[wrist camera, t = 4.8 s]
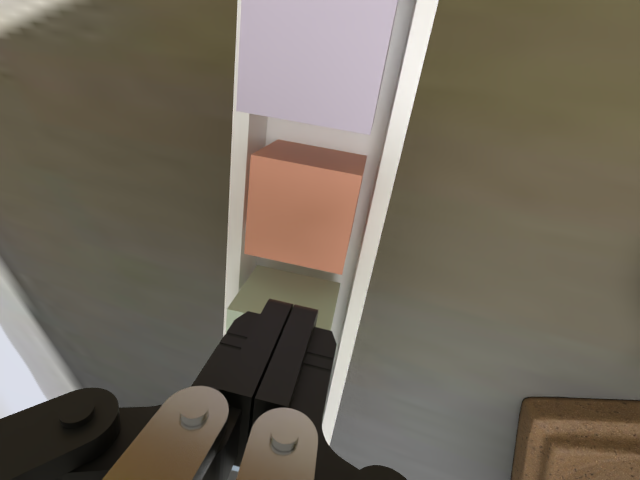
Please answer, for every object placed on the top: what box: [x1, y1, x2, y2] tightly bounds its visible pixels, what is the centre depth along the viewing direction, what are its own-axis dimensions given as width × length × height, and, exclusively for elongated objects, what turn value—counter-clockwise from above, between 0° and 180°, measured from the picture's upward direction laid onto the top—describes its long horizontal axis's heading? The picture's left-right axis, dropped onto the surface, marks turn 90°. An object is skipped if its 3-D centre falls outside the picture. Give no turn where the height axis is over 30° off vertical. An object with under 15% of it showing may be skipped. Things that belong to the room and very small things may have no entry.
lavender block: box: [236, 0, 399, 135], centre depth 14 cm, size 5×5×4 cm
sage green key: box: [226, 265, 341, 332], centre depth 20 cm, size 5×5×4 cm
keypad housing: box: [223, 0, 439, 445], centre depth 21 cm, size 28×8×4 cm, turn 171°
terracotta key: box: [244, 139, 367, 275], centre depth 19 cm, size 5×5×4 cm
